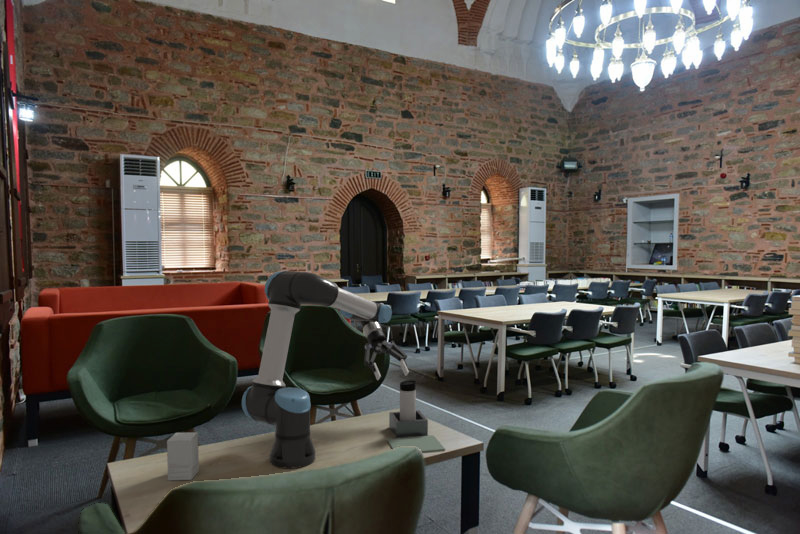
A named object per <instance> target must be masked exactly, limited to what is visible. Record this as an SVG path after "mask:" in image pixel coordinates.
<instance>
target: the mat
mask: <svg viewBox="0 0 800 534" xmlns="http://www.w3.org/2000/svg"><path fill="white" fill-rule="evenodd" d="M387 442H388V444H389V446H390V448H391V450H393V448H396V447H400V446H416V447H418V448H419V449H421V451H422V452H423V453H432V452H433V451H435V452H441V451H440V450H445V451H446V448H445V447H444V445H442V443H441V442H440V440H438V439H437V437H436V436H435V435H433V434H432V435H428V436H416V437H404V438H396V437H395V438H387ZM398 445H399V446H398Z"/></svg>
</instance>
